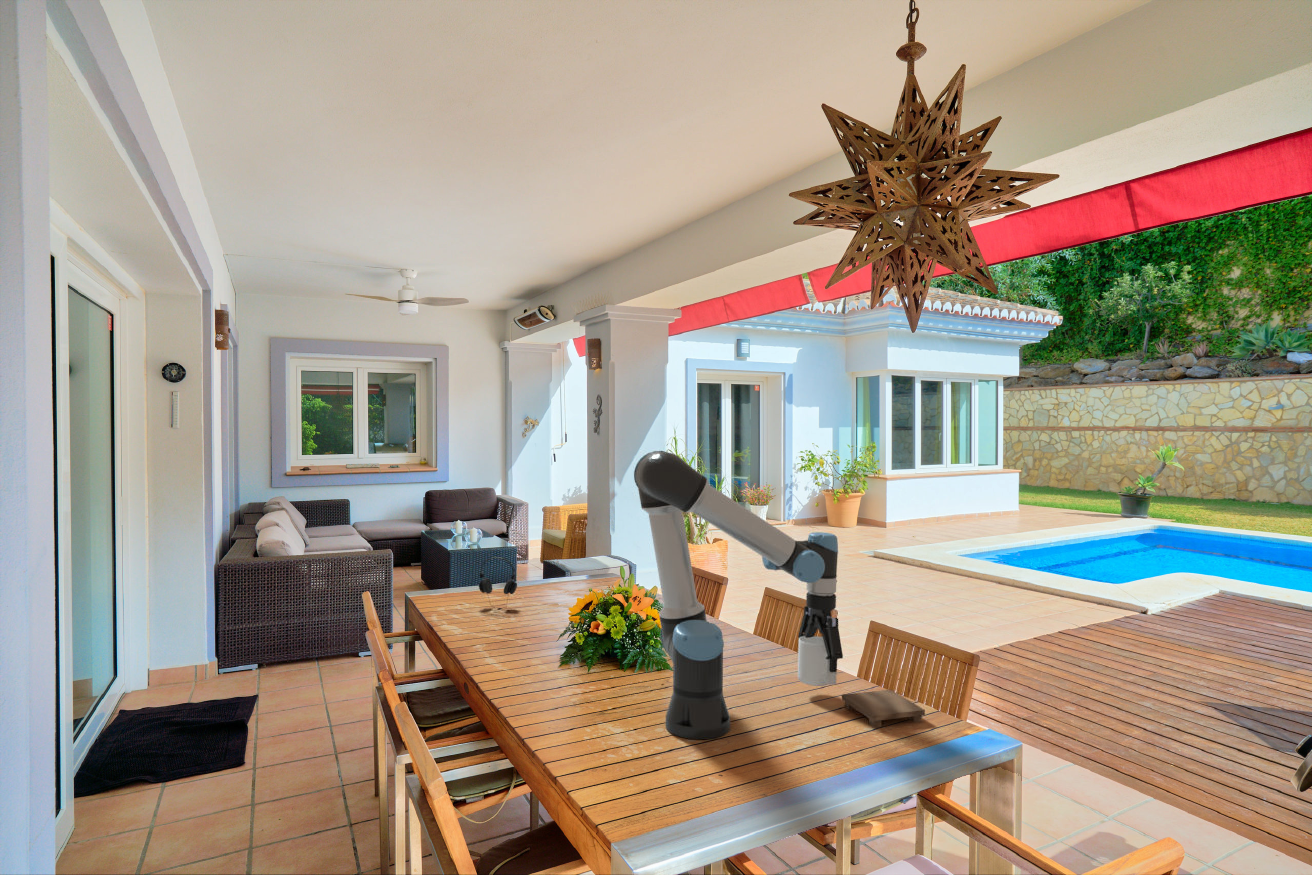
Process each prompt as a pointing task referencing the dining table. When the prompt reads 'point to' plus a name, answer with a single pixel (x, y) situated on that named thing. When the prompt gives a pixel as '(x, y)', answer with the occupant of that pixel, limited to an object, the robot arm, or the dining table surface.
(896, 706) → the stand
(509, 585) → the headphones
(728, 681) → the dining table surface
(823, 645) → the mug
